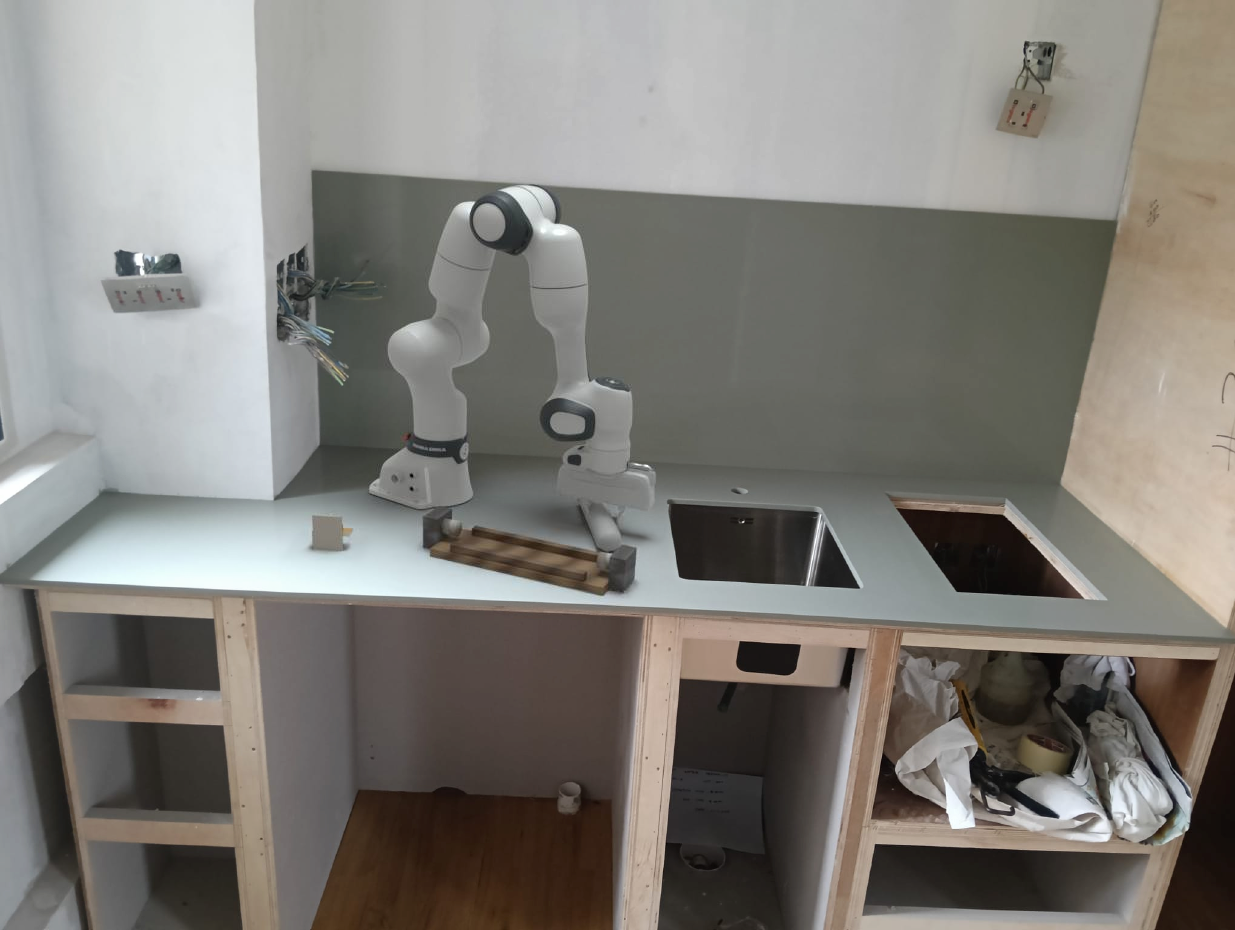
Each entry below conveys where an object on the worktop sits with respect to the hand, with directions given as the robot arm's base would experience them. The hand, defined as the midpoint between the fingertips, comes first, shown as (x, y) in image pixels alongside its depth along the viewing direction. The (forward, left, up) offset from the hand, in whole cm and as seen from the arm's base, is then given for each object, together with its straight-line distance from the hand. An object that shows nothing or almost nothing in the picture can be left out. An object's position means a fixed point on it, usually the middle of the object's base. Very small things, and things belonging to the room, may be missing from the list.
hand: (603, 521), depth 204 cm
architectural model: (-43, -33, -2) cm, 54 cm away
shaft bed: (-7, -22, -2) cm, 23 cm away
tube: (-1, 0, -2) cm, 2 cm away
